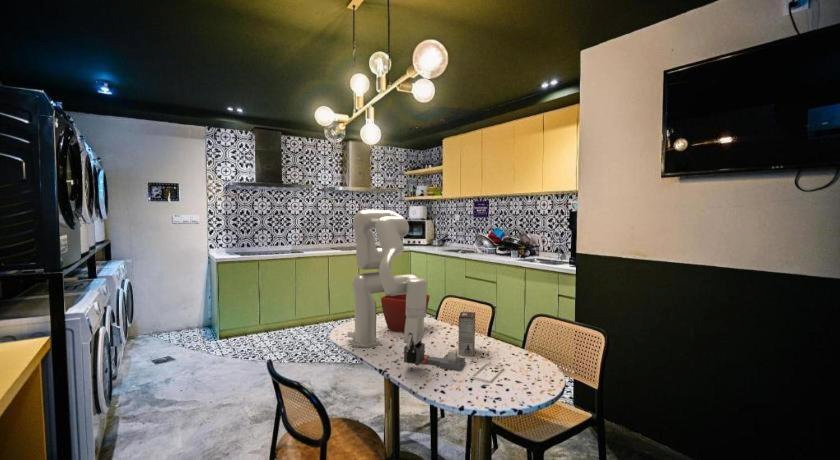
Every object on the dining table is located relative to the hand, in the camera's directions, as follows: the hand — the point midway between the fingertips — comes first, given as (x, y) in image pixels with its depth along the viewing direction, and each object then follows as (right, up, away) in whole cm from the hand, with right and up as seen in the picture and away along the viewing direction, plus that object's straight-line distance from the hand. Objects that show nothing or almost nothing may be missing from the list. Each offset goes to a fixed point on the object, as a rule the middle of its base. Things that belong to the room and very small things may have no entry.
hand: (414, 358), depth 147 cm
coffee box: (+22, -4, +20) cm, 30 cm away
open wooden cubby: (0, -1, 0) cm, 1 cm away
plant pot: (-5, -2, +52) cm, 52 cm away
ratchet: (+7, -4, +7) cm, 11 cm away
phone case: (+27, -5, -3) cm, 28 cm away
